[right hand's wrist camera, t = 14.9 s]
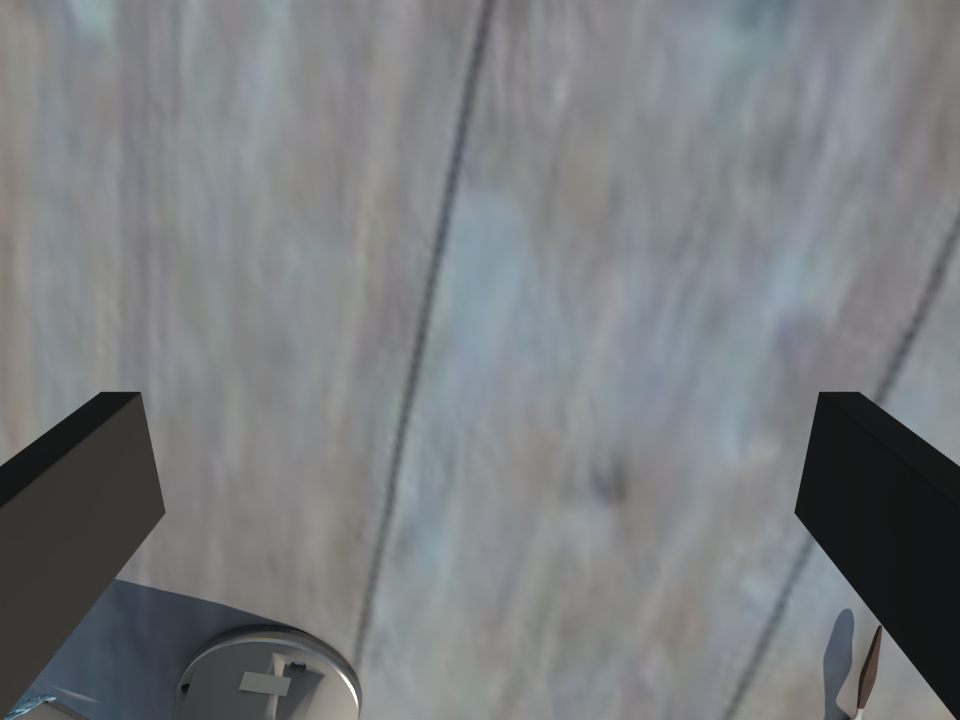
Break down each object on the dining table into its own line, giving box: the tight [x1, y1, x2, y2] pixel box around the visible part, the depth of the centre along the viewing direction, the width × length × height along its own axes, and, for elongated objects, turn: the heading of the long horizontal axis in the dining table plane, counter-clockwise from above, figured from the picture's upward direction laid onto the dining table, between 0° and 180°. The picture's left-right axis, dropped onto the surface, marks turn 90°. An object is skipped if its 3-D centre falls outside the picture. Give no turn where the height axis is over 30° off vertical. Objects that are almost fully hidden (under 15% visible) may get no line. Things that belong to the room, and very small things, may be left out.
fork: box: [850, 625, 882, 720], centre depth 55 cm, size 3×16×2 cm, turn 2°
